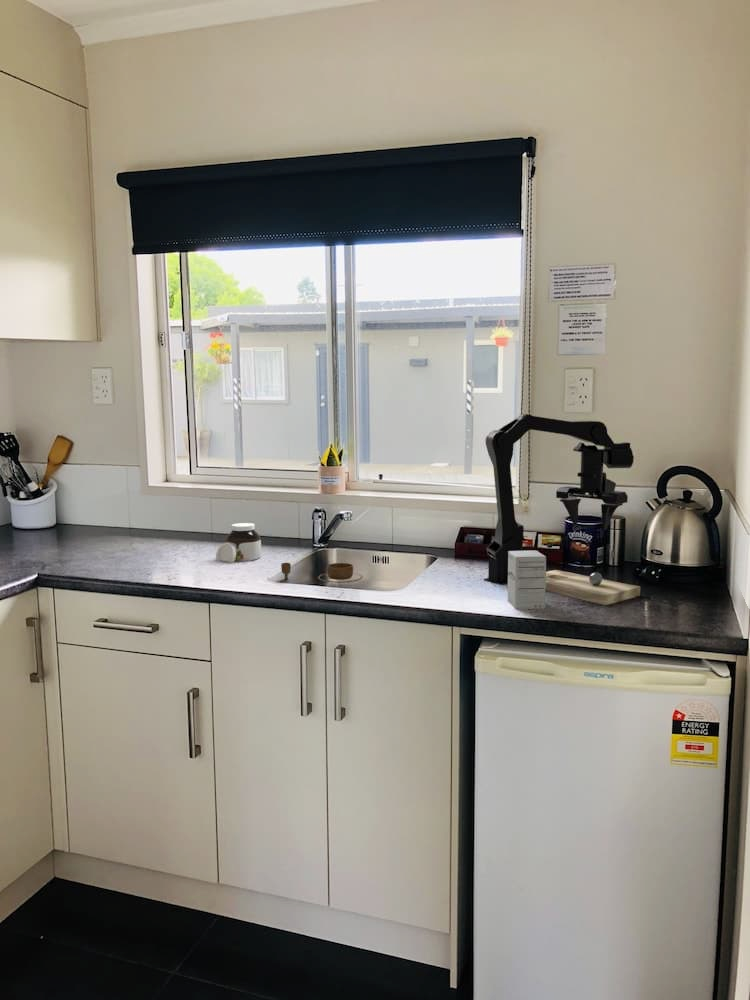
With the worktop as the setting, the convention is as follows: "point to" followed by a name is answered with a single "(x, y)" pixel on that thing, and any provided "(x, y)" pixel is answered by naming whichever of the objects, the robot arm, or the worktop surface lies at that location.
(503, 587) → the worktop surface
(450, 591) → the worktop surface
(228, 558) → the spread jar
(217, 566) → the worktop surface
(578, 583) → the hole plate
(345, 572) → the place setting
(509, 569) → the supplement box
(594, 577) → the steel ball
